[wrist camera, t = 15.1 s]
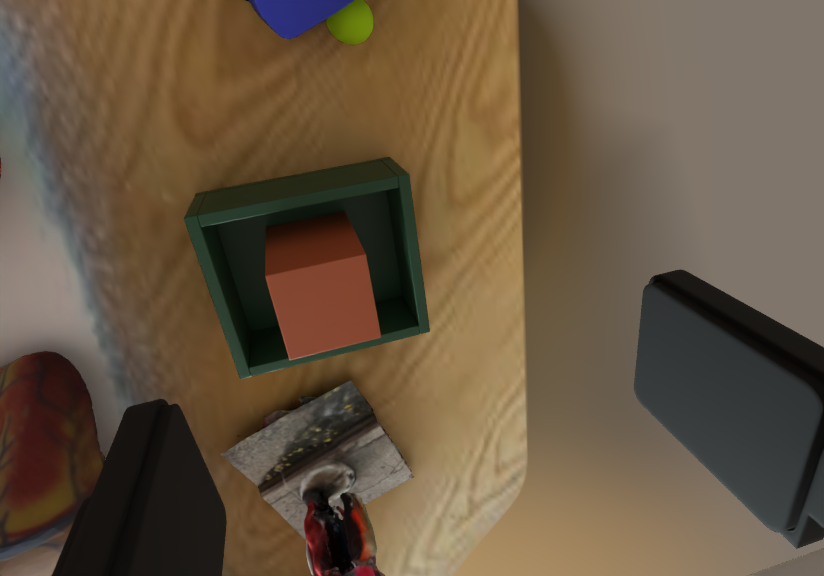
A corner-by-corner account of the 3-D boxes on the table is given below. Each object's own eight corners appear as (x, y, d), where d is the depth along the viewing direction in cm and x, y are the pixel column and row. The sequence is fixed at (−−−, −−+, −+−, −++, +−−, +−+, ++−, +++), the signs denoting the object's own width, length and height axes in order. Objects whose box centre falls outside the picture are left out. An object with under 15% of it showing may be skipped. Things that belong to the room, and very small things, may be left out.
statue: (406, 457, 40) (488, 665, 28) (300, 515, 40) (338, 753, 27) (346, 369, 34) (420, 589, 22) (220, 437, 33) (222, 702, 21)
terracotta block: (345, 210, 29) (365, 253, 23) (358, 280, 31) (381, 337, 25) (265, 226, 28) (264, 276, 22) (285, 297, 30) (289, 360, 24)
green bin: (389, 156, 29) (409, 173, 25) (410, 298, 33) (430, 332, 29) (195, 193, 27) (183, 217, 23) (243, 338, 31) (240, 379, 27)
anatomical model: (-104, 370, 26) (96, 417, 40) (-176, 659, 21) (82, 600, 35) (67, 331, 26) (210, 392, 40) (37, 615, 21) (213, 573, 34)
